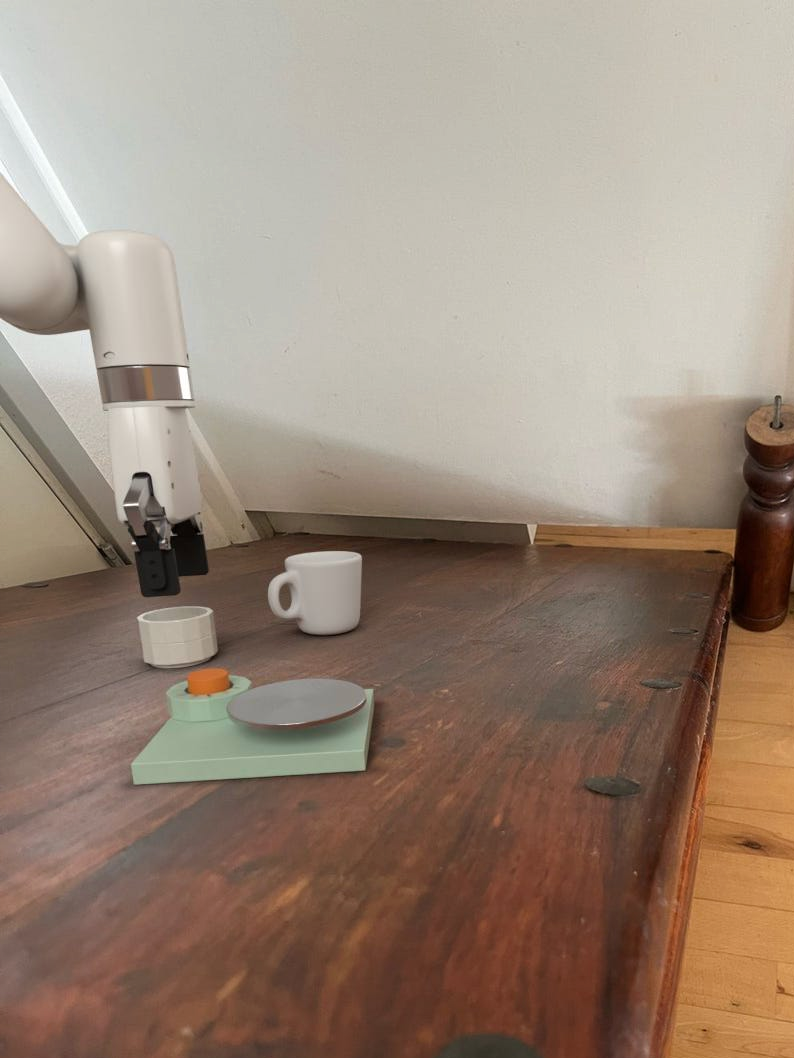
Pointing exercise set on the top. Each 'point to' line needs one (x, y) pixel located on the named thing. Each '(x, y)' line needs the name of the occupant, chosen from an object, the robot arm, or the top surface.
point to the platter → (296, 704)
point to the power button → (208, 681)
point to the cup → (320, 591)
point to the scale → (246, 742)
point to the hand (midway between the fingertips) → (178, 584)
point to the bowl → (177, 636)
